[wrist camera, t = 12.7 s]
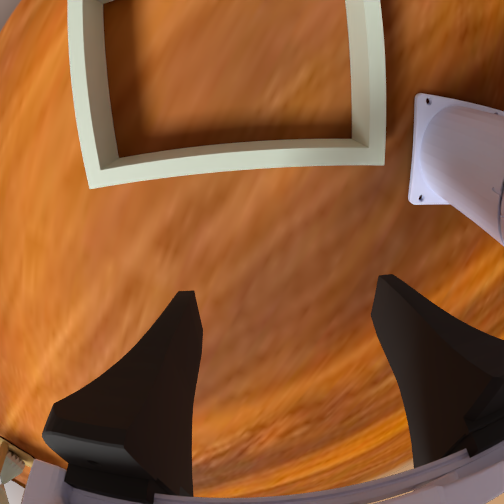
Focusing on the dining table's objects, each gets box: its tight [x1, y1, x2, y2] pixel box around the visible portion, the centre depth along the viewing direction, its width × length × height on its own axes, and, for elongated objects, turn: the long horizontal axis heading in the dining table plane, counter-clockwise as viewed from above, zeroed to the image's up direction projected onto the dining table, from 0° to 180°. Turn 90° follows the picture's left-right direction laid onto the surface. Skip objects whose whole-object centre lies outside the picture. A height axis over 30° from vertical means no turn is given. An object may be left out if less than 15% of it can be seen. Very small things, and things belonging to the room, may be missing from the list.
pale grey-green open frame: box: [68, 0, 386, 189], centre depth 14 cm, size 17×13×3 cm
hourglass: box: [0, 438, 34, 504], centre depth 41 cm, size 24×22×25 cm
